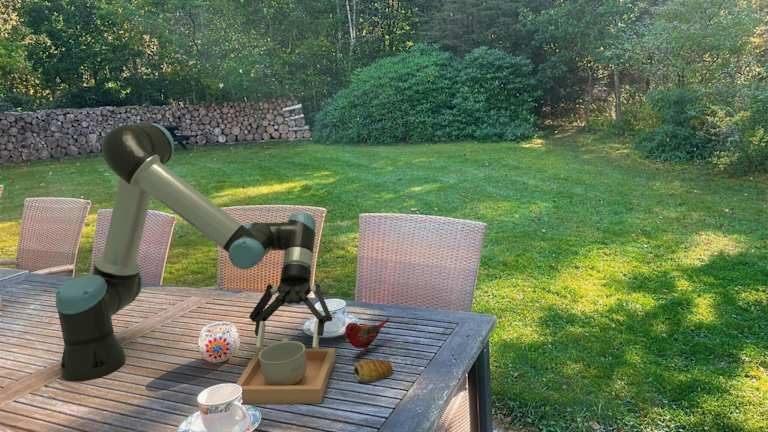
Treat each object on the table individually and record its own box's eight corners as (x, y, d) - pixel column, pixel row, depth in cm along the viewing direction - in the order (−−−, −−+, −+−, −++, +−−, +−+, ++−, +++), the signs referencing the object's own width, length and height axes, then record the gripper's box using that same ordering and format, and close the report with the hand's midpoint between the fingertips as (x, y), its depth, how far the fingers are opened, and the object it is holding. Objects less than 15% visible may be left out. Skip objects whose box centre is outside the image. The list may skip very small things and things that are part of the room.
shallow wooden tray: (233, 403, 128) (232, 389, 127) (259, 361, 147) (258, 349, 147) (321, 403, 126) (320, 389, 125) (335, 360, 146) (334, 348, 145)
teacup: (301, 393, 129) (298, 361, 127) (255, 392, 130) (251, 360, 128) (315, 364, 142) (313, 334, 141) (273, 363, 144) (270, 334, 142)
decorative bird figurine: (341, 361, 145) (339, 325, 143) (386, 336, 158) (384, 303, 156) (350, 364, 143) (347, 327, 141) (394, 339, 156) (393, 305, 154)
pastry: (387, 365, 142) (386, 351, 142) (397, 377, 136) (396, 363, 135) (351, 373, 139) (350, 359, 138) (360, 386, 133) (359, 371, 132)
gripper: (346, 274, 148) (341, 353, 137) (253, 275, 151) (241, 353, 139) (342, 261, 142) (336, 343, 131) (245, 262, 144) (231, 343, 133)
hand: (287, 348), depth 135 cm, fingers open, 13 cm apart
